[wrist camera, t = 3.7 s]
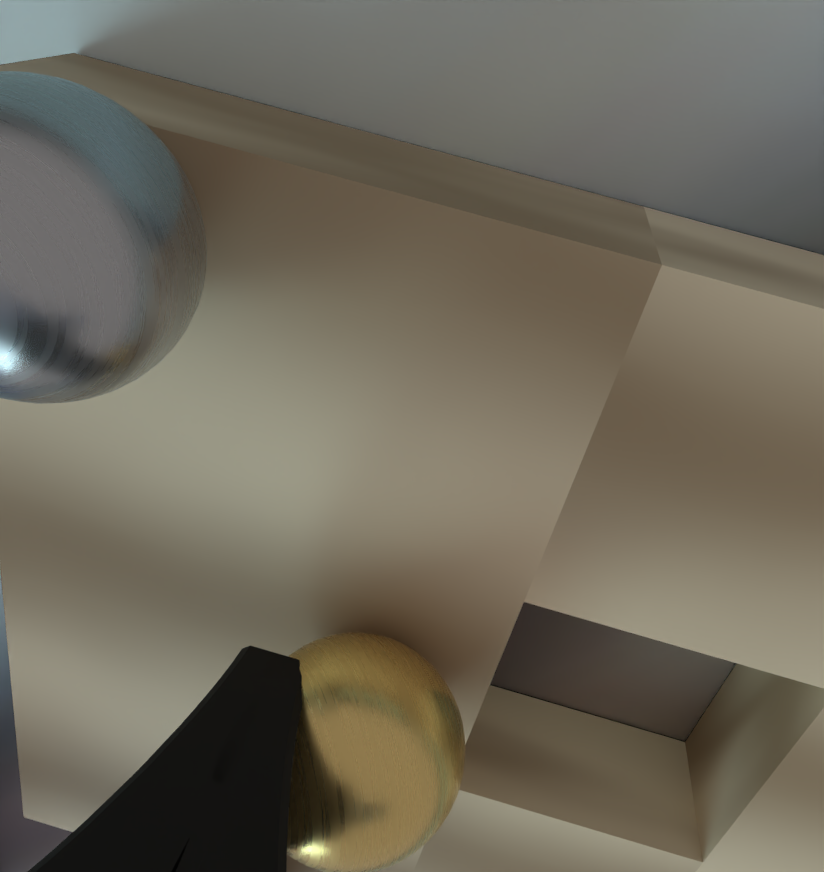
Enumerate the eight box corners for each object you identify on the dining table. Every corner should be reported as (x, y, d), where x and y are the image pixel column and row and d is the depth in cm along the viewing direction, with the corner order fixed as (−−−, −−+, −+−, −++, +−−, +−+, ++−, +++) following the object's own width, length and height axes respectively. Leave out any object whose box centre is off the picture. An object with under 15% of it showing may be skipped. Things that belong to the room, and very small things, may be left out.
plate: (687, 903, 18) (703, 1025, 16) (84, 722, 19) (23, 817, 17) (1139, 340, 10) (1285, 434, 8) (73, 53, 11) (-47, 71, 9)
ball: (215, 753, 13) (396, 702, 14) (271, 959, 10) (482, 873, 12) (216, 612, 11) (423, 569, 12) (284, 820, 8) (530, 738, 10)
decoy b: (237, 359, 10) (114, 501, 7) (3, 293, 10) (-205, 410, 7) (265, 98, 8) (116, 158, 6) (-18, 22, 8) (-295, 45, 6)
